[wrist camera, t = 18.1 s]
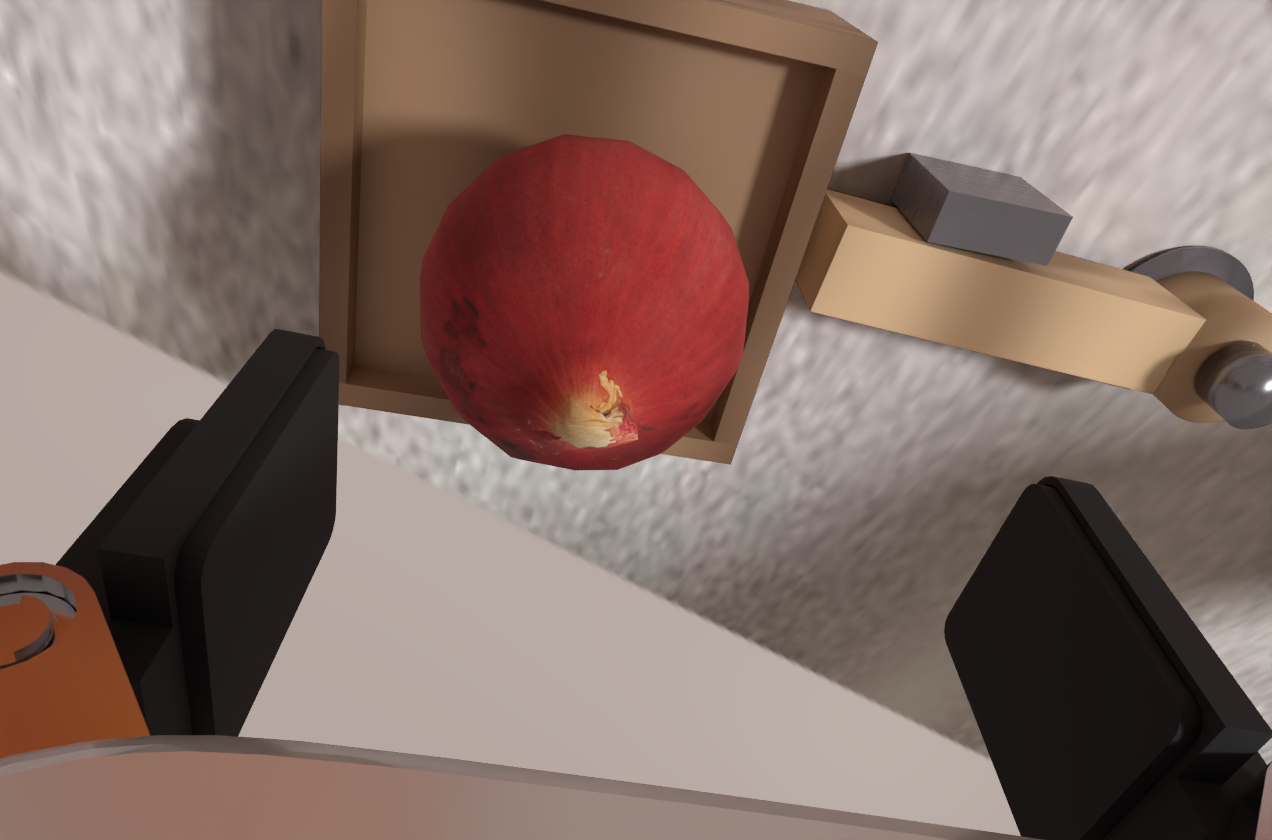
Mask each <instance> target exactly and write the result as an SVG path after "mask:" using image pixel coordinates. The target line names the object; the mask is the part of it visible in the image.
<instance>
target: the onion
mask: <svg viewBox="0 0 1272 840" xmlns="http://www.w3.org/2000/svg"><path fill="white" fill-rule="evenodd" d="M748 304H749V281H748V278H747V275H746V272H745V269H744V266H743V263H742V259H741V256H740V253H739V250H738V247H737V244H736V241H735V237H734V234H733V231H732V228H731V227H730V225H729V224H728V222H727V221H726V219H725V218H724V217H723V215H722V214H721V213H720V211H719V210H718V209H717V208H716V207H715V206H714V204H713V203H712V202H711V201H710V200H709V199H708V197H707V196H706V195H705V194H704V193H703V192H702V190H701V189H700V188H699V187H698V186H697V185H696V183H695V182H694V181H693V180H692V179H691V178H690V176H689V175H688V174H687V173H686V172H685V171H684V170H683V169H681V168H679V167H677V166H675V165H673V164H672V163H670V162H668V161H666V160H664V159H662V158H660V157H658V156H656V155H655V154H653V153H651V152H649V151H647V150H645V149H643V148H641V147H639V146H638V145H636V144H634V143H632V142H630V141H625V140H616V139H606V138H596V137H587V136H577V135H568V134H563V135H560V136H557V137H554V138H551V139H549V140H546V141H543V142H540V143H537V144H534V145H531V146H528V147H525V148H522V149H519V150H516V151H513V152H510V153H507V154H504V155H503V156H501V157H500V158H498V159H497V160H495V161H494V162H492V163H491V164H490V165H489V166H488V167H487V168H486V169H485V170H484V171H483V172H482V173H481V174H480V175H479V176H478V177H477V178H476V179H475V180H474V181H473V182H472V183H471V184H470V185H469V186H468V187H467V188H465V189H464V190H463V191H462V192H461V193H460V194H459V195H458V196H457V197H456V198H455V199H454V200H453V201H452V202H451V203H450V204H449V205H448V206H447V209H446V211H445V213H444V215H443V217H442V219H441V221H440V223H439V225H438V227H437V230H436V232H435V234H434V236H433V238H432V240H431V242H430V244H429V246H428V248H427V251H426V253H425V255H424V257H423V259H422V267H421V275H420V323H421V341H422V344H423V347H424V350H425V353H426V355H427V358H428V360H429V362H430V364H431V366H432V368H433V369H434V371H435V373H436V375H437V377H438V379H439V381H440V383H441V385H442V387H443V388H444V390H445V392H446V394H447V396H448V398H449V400H450V402H451V404H452V405H453V407H454V409H455V411H456V412H457V413H458V414H459V415H460V416H461V417H462V418H463V419H464V420H465V421H466V422H467V423H469V424H470V425H471V426H472V427H474V428H475V429H476V430H478V431H479V432H480V433H481V434H483V435H484V436H485V437H486V438H488V439H489V440H490V441H492V442H493V443H494V444H495V445H497V446H498V447H499V448H500V449H502V450H503V451H504V452H506V453H507V454H508V455H509V456H511V457H513V458H517V459H521V460H526V461H531V462H536V463H541V464H546V465H552V466H557V467H562V468H567V469H572V470H618V469H620V468H623V467H626V466H629V465H631V464H634V463H637V462H639V461H642V460H645V459H648V458H650V457H653V456H656V455H658V454H660V453H663V452H665V451H666V450H667V449H668V448H670V447H671V446H672V445H673V444H675V443H676V442H677V441H678V440H679V439H681V438H682V437H683V436H684V435H686V434H687V433H688V432H689V431H691V430H692V429H693V428H694V427H696V426H697V425H698V424H699V423H701V421H702V420H703V419H704V418H705V416H706V415H707V414H708V413H709V411H710V410H711V408H712V407H713V405H714V404H715V402H716V401H717V399H718V398H719V396H720V395H721V393H722V392H723V390H724V389H725V388H726V386H727V385H728V383H729V382H730V380H731V379H732V377H733V376H734V374H735V373H736V371H737V369H738V366H739V364H740V362H741V359H742V357H743V350H744V341H745V332H746V322H747V313H748Z"/></svg>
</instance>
